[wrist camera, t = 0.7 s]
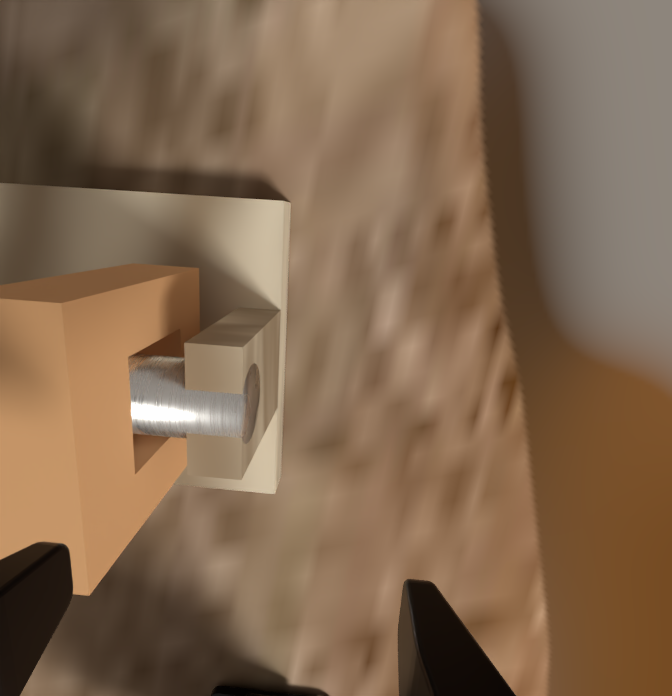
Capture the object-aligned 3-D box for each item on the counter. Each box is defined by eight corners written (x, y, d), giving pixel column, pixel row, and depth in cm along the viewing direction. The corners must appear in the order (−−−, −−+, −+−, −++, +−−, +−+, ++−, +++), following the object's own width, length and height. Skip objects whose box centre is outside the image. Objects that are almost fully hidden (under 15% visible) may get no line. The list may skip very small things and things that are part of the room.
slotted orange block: (198, 267, 16) (61, 303, 9) (201, 446, 18) (89, 595, 11) (133, 263, 16) (-56, 294, 9) (142, 440, 18) (-9, 585, 11)
